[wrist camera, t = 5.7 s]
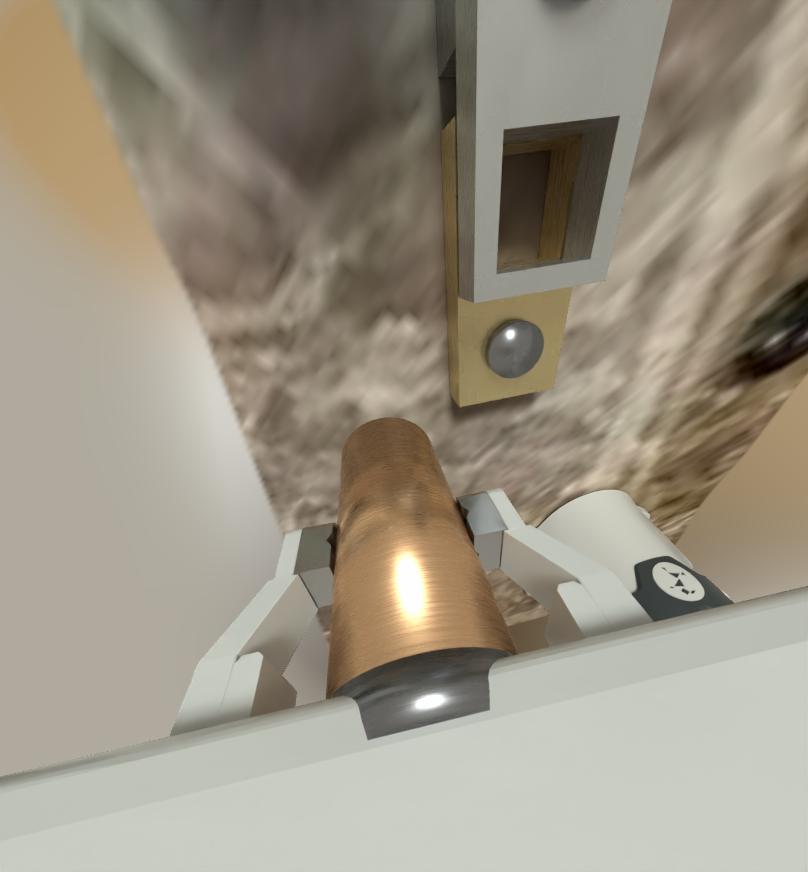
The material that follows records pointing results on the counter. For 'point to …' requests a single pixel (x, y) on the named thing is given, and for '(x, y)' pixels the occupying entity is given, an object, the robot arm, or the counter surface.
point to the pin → (407, 589)
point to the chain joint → (567, 177)
